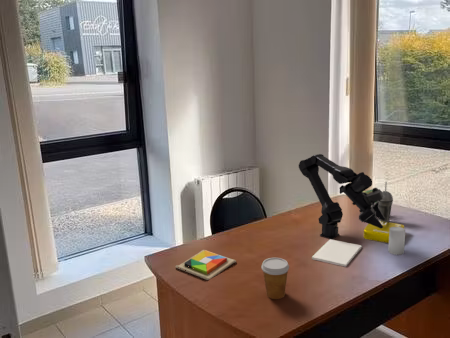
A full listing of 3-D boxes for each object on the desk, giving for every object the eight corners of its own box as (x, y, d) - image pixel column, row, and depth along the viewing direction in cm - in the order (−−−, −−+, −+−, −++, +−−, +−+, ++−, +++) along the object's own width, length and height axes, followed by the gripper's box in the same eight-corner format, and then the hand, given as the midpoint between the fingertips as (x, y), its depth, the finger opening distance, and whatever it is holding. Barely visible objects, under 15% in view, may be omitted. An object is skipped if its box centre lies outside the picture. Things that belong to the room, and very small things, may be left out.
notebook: (311, 259, 180) (311, 256, 180) (329, 241, 196) (329, 239, 196) (345, 266, 172) (345, 264, 172) (361, 247, 188) (361, 245, 188)
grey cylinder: (385, 252, 183) (387, 229, 181) (392, 247, 187) (393, 225, 185) (400, 256, 179) (401, 233, 176) (406, 251, 183) (407, 228, 181)
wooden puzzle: (174, 269, 177) (173, 261, 177) (206, 252, 191) (205, 245, 190) (206, 282, 166) (206, 273, 166) (237, 263, 180) (237, 255, 179)
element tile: (362, 239, 198) (362, 229, 196) (371, 227, 210) (371, 218, 209) (397, 245, 190) (398, 235, 189) (404, 233, 202) (405, 223, 201)
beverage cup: (375, 224, 213) (377, 184, 208) (376, 218, 219) (378, 180, 214) (391, 225, 210) (393, 185, 205) (392, 220, 217) (394, 181, 212)
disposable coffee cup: (286, 286, 160) (286, 256, 157) (291, 301, 151) (291, 268, 148) (260, 288, 160) (259, 257, 157) (263, 302, 150) (262, 270, 147)
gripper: (368, 190, 172) (397, 220, 170) (373, 177, 188) (400, 204, 187) (347, 207, 177) (375, 236, 175) (354, 193, 194) (379, 220, 192)
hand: (383, 223), depth 182 cm, fingers open, 9 cm apart
